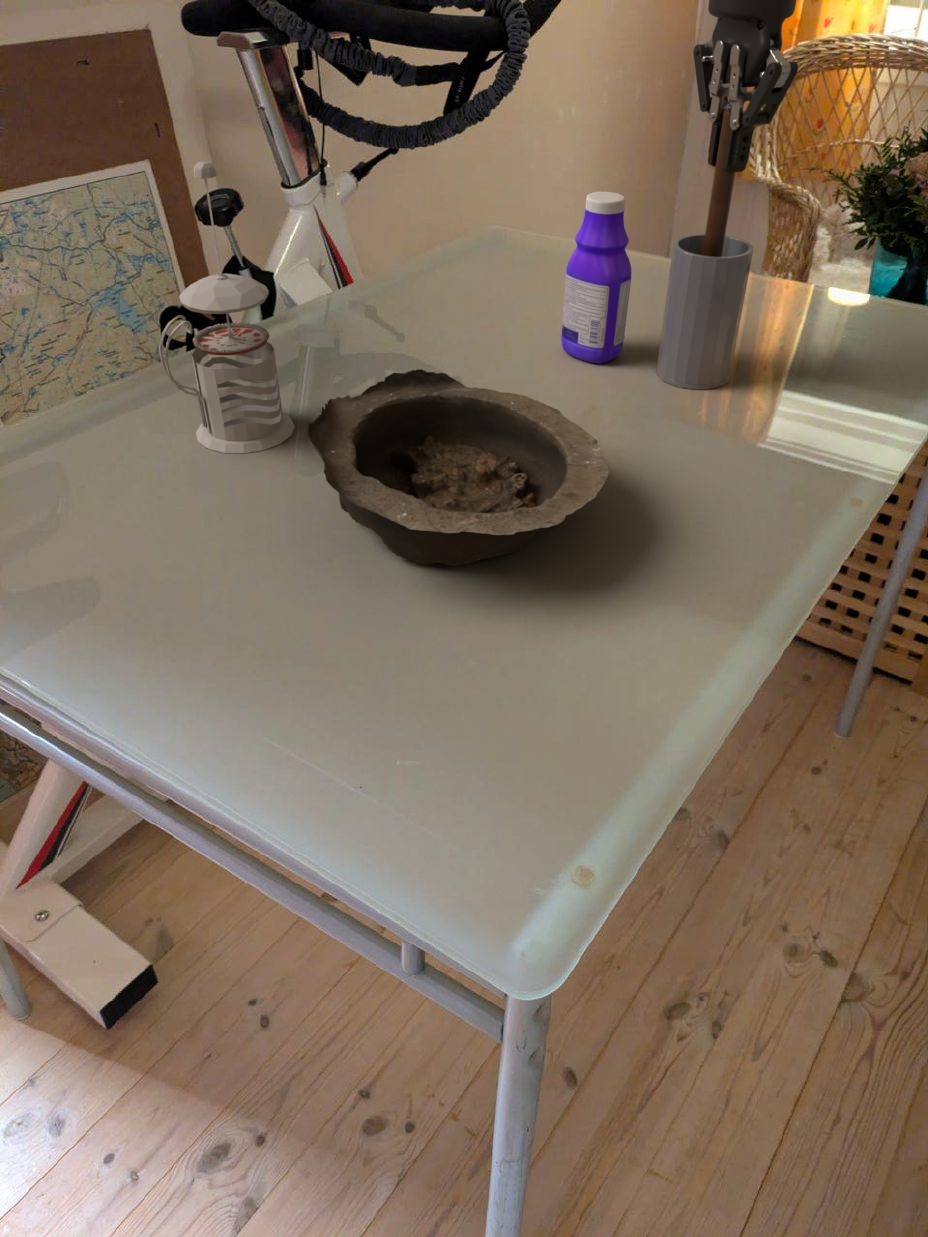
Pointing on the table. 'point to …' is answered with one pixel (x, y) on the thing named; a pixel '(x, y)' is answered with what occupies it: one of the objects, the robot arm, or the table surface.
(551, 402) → the table surface
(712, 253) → the brush
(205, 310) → the french press
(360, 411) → the stone bowl
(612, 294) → the bottle
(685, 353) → the cylindrical container
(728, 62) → the robot arm
